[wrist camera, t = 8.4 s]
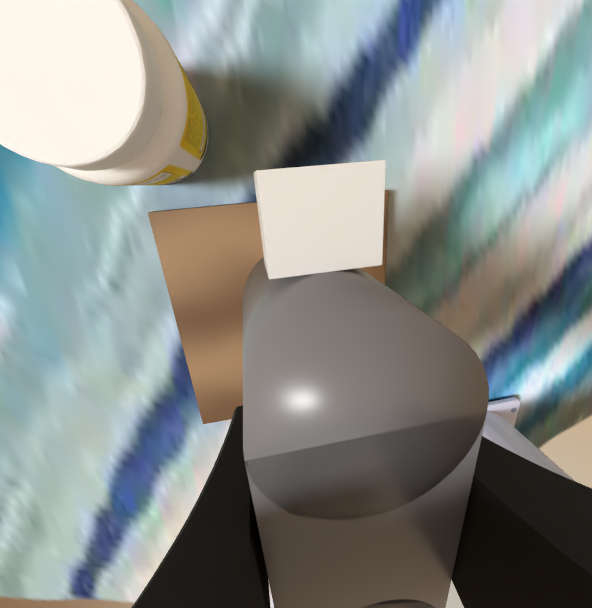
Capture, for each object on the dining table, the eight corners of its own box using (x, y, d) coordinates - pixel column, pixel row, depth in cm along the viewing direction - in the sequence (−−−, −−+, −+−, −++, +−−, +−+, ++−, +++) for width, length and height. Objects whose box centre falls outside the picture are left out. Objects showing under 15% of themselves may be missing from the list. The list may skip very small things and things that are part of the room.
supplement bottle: (139, 35, 12) (-37, -222, 4) (230, 128, 14) (215, 57, 6) (74, 130, 13) (-170, 48, 5) (168, 206, 15) (88, 229, 7)
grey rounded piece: (357, 472, 14) (433, 661, 8) (272, 490, 13) (294, 704, 8) (357, 167, 9) (545, 138, 3) (222, 179, 8) (184, 165, 3)
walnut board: (376, 384, 21) (381, 391, 20) (204, 415, 20) (203, 424, 19) (381, 189, 16) (388, 189, 15) (152, 211, 15) (147, 212, 14)
